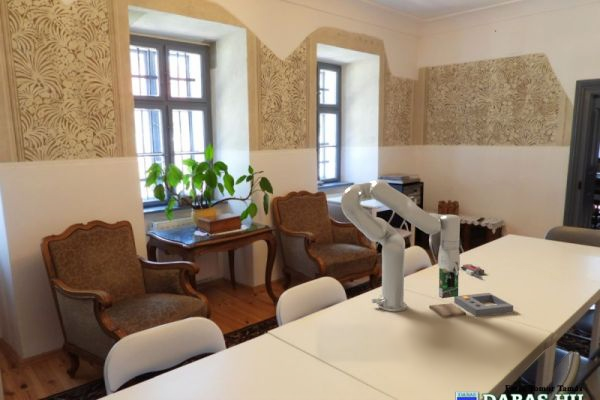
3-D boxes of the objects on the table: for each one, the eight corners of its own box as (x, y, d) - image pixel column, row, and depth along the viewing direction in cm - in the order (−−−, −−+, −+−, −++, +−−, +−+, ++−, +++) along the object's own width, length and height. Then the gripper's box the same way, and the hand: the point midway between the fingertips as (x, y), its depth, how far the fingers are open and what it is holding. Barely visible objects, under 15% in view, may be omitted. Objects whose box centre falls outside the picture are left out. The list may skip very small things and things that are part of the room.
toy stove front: (475, 316, 177) (476, 308, 177) (454, 302, 193) (454, 295, 192) (513, 312, 181) (513, 304, 181) (488, 298, 197) (489, 291, 196)
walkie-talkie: (457, 269, 242) (480, 280, 223) (457, 262, 242) (480, 272, 222) (470, 268, 244) (494, 279, 225) (470, 261, 244) (494, 271, 225)
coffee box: (442, 298, 180) (442, 269, 178) (438, 296, 183) (438, 267, 181) (458, 296, 182) (459, 267, 180) (454, 294, 185) (455, 265, 183)
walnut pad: (442, 317, 177) (442, 315, 177) (429, 307, 187) (429, 305, 187) (466, 315, 179) (466, 312, 179) (451, 305, 190) (451, 303, 190)
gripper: (431, 240, 186) (430, 280, 189) (452, 249, 170) (451, 292, 173) (446, 239, 188) (445, 278, 190) (469, 247, 172) (467, 291, 175)
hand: (448, 285), depth 182 cm, fingers closed on coffee box, 3 cm apart
